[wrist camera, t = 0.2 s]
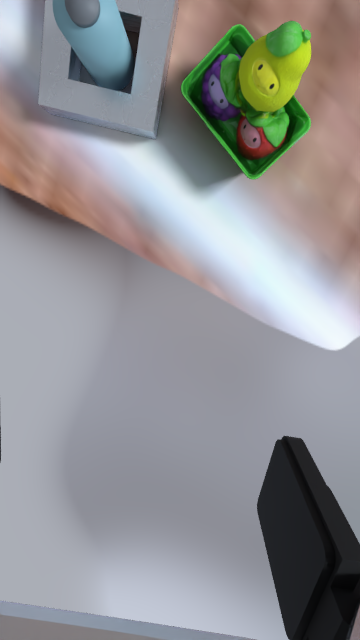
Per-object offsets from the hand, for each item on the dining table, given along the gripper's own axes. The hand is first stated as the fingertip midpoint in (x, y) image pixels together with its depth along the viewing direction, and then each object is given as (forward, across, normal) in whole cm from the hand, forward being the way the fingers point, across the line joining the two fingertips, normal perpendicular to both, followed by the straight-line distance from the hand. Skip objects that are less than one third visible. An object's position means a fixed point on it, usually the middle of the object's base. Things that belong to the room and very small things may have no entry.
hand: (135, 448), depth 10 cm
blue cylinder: (+31, +10, -22) cm, 39 cm away
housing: (+31, +10, -22) cm, 39 cm away
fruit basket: (+31, -4, -19) cm, 37 cm away
